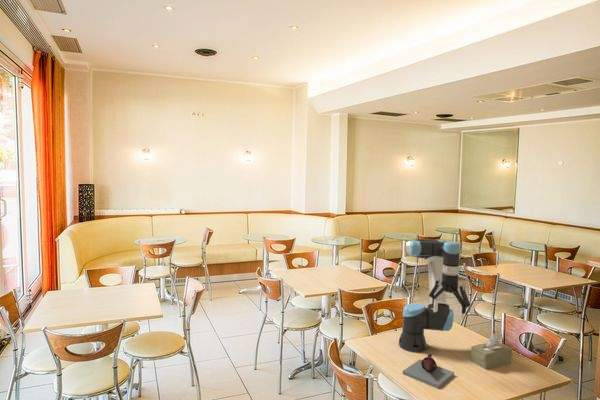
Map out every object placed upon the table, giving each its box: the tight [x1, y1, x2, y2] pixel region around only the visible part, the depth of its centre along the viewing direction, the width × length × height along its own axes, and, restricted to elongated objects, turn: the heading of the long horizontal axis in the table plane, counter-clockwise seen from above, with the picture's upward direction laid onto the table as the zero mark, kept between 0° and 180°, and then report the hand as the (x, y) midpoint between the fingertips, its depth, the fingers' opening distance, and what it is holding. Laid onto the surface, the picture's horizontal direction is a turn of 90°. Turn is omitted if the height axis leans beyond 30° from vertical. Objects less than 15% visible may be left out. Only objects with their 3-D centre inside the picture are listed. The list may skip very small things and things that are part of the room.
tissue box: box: [470, 332, 513, 370], centre depth 207 cm, size 19×10×16 cm, turn 113°
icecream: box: [421, 353, 438, 372], centre depth 194 cm, size 7×7×15 cm
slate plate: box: [402, 359, 455, 389], centre depth 193 cm, size 18×17×2 cm
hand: (448, 315), depth 197 cm, fingers open, 13 cm apart
